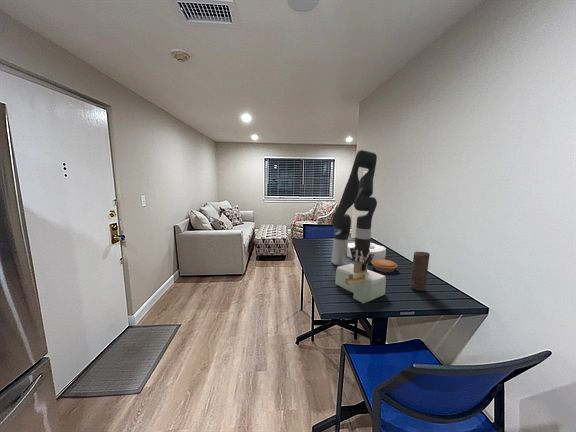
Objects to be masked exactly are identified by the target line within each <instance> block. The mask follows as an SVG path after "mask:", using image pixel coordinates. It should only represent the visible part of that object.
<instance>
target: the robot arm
mask: <svg viewBox="0 0 576 432" xmlns="http://www.w3.org/2000/svg"><path fill="white" fill-rule="evenodd" d="M377 157H378V156H377V154H376V153H375V152H371V151H368V150H363V149H359V150H358V151H357V153H356V155H355V158H354V159H353V164H352V168H351V171H350V174H349V177H348V179H347V182H346V185H345V187H344V189H343V193H342V195H341V199H340V201H339V203H338V206H337V208H336V210H335V212H334V214H333V217H332V220H331V225H332V227H333V228H334V229H339V230H338V231H336V232H334V234H333V246H332V247H333V248H331V261H330V262H331V263H332V265H335V266H337V267H339V266H343V265H347V264H348V263H347V262H348V256H347V251H348V243H349V236H350V234H351V227H352V226H351V225H352V220H351V219H352V218H351V216H350V215H349V214H348V213H347V211H348V210H349V209H350V208H351V207H352V206H353V207H354V209H355V210H356V211H359V212H367V213H366V214H363V215H358V216H357V218H356V226H355V232H354V242H355V247H354V248H350V251H351V255H352V258H351V259H352V260H354V262H358V261H360V258H361V259H362V271H365V270H366V264H368V265H369V264H371V263H372V262H371V260H372V259H373V257H374V254H372V253H371V252H370V250H369V247H370V243H371V240H372V239H371V238H372V221H373V216H374V213H375V211H376V209H377V205H378V201H377V199H376V198H375V197H373V196H372V195H373V194H374V177H375V173H376V166H377V160H378V158H377ZM359 168H363V169H367V171H366V173H365V174H363V176H362V177H360V178H359ZM367 255H368V257H367ZM354 256H355V257H354Z"/></svg>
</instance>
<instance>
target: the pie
mask: <svg viewBox="0 0 576 432" xmlns="http://www.w3.org/2000/svg"><path fill="white" fill-rule="evenodd" d="M371 265H372V266H373V267H374V269H375V270H376V271H378V272H381V273H392V272H394V271H395V270H396V269H397V268H398V264H397V263H396V262H394V261H392V260H390V259H386V258H385V259H376V260H373V261H372V262H371Z"/></svg>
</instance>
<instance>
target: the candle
mask: <svg viewBox="0 0 576 432" xmlns="http://www.w3.org/2000/svg"><path fill="white" fill-rule="evenodd" d="M429 262H430V253H429V252H427V251H414V253H413V259H412V264H411V267H412V268H411V273H410V280H409V281H410V282H409V287H410V288H411V289H413V290H416V291H426V288H427V280H428V272H429V271H428V269H429Z"/></svg>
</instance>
